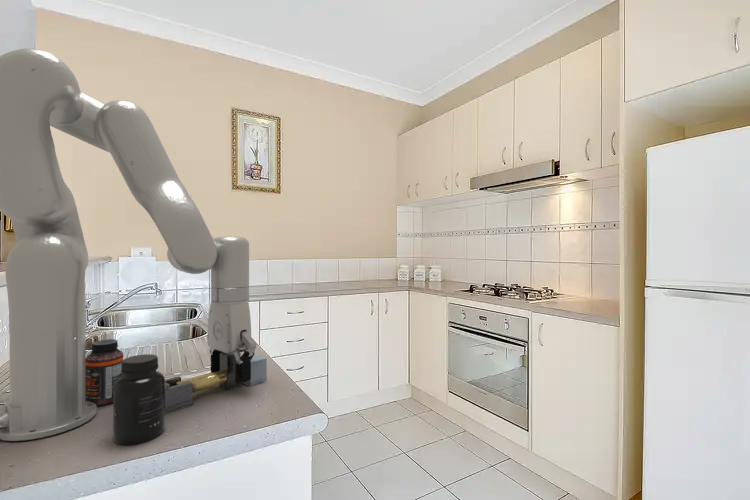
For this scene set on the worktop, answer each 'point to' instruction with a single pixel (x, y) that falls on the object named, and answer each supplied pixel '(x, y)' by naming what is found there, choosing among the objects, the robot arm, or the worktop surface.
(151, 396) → the supplement bottle
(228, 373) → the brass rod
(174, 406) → the sleeve
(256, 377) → the socket
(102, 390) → the supplement bottle
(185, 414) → the worktop surface
